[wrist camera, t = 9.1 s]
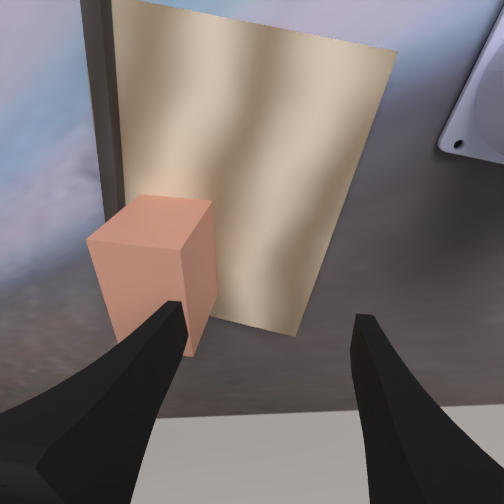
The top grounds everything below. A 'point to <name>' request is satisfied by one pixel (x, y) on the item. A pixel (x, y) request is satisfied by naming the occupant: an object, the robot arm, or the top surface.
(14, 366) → the top surface
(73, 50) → the top surface
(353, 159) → the shelf board
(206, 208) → the carton
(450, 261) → the top surface
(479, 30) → the top surface
